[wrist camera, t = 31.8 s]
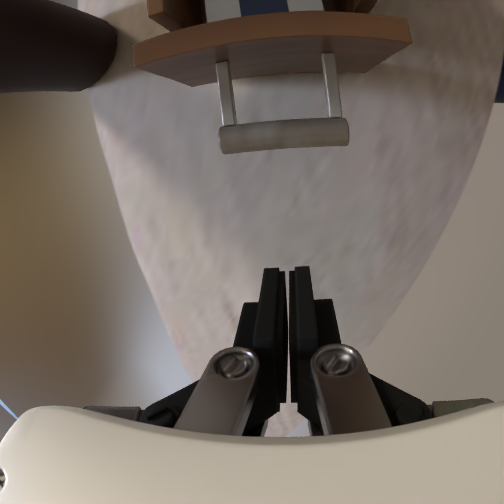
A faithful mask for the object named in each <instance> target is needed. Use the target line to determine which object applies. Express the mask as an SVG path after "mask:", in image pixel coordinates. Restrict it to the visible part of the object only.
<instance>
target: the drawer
mask: <svg viewBox="0 0 504 504" xmlns="http://www.w3.org/2000/svg"><path fill="white" fill-rule="evenodd" d="M377 1H378V0H323V3H324V7H325V11H299V12H280V13H268V14H259V15H250V16H243V17H236V18H230V19H224V20H219V21H214V22H209V23H206V18H205V10H204V1H203V0H147V3H148V17H149V18H151V19H152V20H154V21H155V22H157V23H158V24H160V25H161V26H163V27H164V28H166V29H167V30H169V31H170V32H169V33H166V34H163V35H160V36H156V37H153V38H150V39H147V40H144V41H142V42H139V43H136V44H133V59H134V68H137V69H141V70H144V71H147V72H151V73H154V74H157V75H160V76H163V77H166V78H169V79H172V80H175V81H177V82H180V83H183V84H186V85H188V86H191V87H194V86H199V85H204V84H209V83H214V82H218V89H219V97H220V105H221V113H222V122H223V127H220V128H219V135H218V136H219V145H220V149H221V151H222V153H223V154H232V153H241V152H250V151H261V150H272V149H286V148H302V147H325V146H347V145H348V144H349V126H348V122H347V120H346V118H341V117H342V110H341V100H340V91H339V83H338V75H337V72H355V73H366V72H367V71H369V70H370V69H372V68H373V67H375V66H376V65H378V64H379V63H381V62H382V61H384V60H386V59H387V58H389V57H390V56H392V55H393V54H395V53H397V52H398V51H400V50H402V49H403V48H405V47H406V46H408V45H410V44H411V43H412V40H411V36H410V31H409V27H408V23H407V20H406V19H402V18H396V17H389V16H382V15H374V14H368V13H369V12H370V10H371V9H372V8H373V6H374V5H375V4H376V2H377ZM307 72H323V75H324V83H325V91H326V100H327V109H328V117H329V118H308V119H290V120H276V121H265V122H255V123H246V124H238V125H236V124H237V119H236V111H235V103H234V95H233V86H232V80H233V79H239V78H247V77H255V76H264V75H275V74H288V73H307Z"/></svg>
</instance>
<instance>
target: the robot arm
mask: <svg viewBox="0 0 504 504" xmlns="http://www.w3.org/2000/svg"><path fill="white" fill-rule="evenodd" d="M289 354H290V381H291V403H298V413H300V414H301V415H303V416H304V417H305V418H307V419H308V428H309V433H310V436H308V437H264V435H265V432H266V428H267V424H268V419H269V418H270V417H271V416H273V415H274V414H275V413H277V412H280V403H286V394H287V366H288V316H287V298H286V282H285V271H279V268H264V273H263V279H262V285H261V291H260V298H259V302H249V303H244V304H243V308H242V312H241V316H240V320H239V324H238V328H237V332H236V336H235V340H234V344H233V347H230V348H226V349H224V350H221V351H219V352H218V353H216V354H215V355H214V356H213V357H212V358H211V360H210V361H209V363H208V365H207V367H206V369H205V371H204V373H203V374H202V376H201V378H200V380H198V381H196V382H194V383H192V384H191V385H189V386H187V387H185V388H183V389H181V390H179V391H177V392H175V393H173V394H171V395H169V396H167V397H165V398H163V399H161V400H160V401H158V402H155V403H153V404H152V405H150V406H149V407H147V408H146V409H145V410H141V408H140V407H111V406H87V407H84V408H82V409H81V408H75V407H67V406H42V407H36V408H32V409H30V410H28V411H26V412H25V413H23V414H22V415H21V416H20V417H19V418H18V419H17V421H16V422H15V423H14V424H13V425H12V427H11V428H10V429H9V431H8V432H7V433H6V435H5V437H4V438H3V439H2V441H1V443H0V504H504V401H499V402H494V401H492V400H490V399H484V398H480V399H469V400H455V401H434V402H433V403H432V405H426V404H425V403H424V402H423V401H421V400H420V399H418V398H416V397H414V396H412V395H410V394H408V393H406V392H404V391H402V390H400V389H398V388H396V387H394V386H392V385H391V384H389V383H387V382H385V381H383V380H381V379H379V378H377V377H375V376H374V375H372V374H370V373H369V372H368V370H367V368H366V366H365V363H364V361H363V359H362V357H361V355H360V354H359V352H358V351H357V350H356V349H354V348H353V347H351V346H348V345H345V344H341V340H340V335H339V330H338V325H337V320H336V315H335V310H334V306H333V301H332V299H319V300H314V298H313V290H312V283H311V275H310V268H309V266H301V267H295V271H289Z"/></svg>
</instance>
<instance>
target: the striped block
mask: <svg viewBox="0 0 504 504" xmlns="http://www.w3.org/2000/svg"><path fill="white" fill-rule="evenodd" d="M203 1H204V10H205V18H206V23H209V22H214V21H219V20H224V19H230V18H236V17H243V16H250V15H259V14H268V13H280V12H299V11H325V7H324V3H323V0H203Z"/></svg>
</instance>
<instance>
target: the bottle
mask: <svg viewBox="0 0 504 504" xmlns="http://www.w3.org/2000/svg"><path fill="white" fill-rule="evenodd" d="M115 49H116V34H115V31H114V29H113V27H112V26H111V25H110V24H109V23H108V22H107V21H105V20H103V19H100V18H98V17H95V16H93V15H90V14H88V13H85V12H82V11H80V10H77V9H74V8H71V7H68V6H65V5H62V4H59V3H55V2H53V1H49V0H0V93H12V92H34V91H68V92H73V91H82V90H84V89H86V88H89V87H91V86H92V85H93V84H94V83H96V82H97V81H98V80H99V79H100V78H101V77H102V76H103V74H104V73H105V72H106V71H107V69H108V67H109V65H110V63H111V61H112V59H113V57H114V53H115Z"/></svg>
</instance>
